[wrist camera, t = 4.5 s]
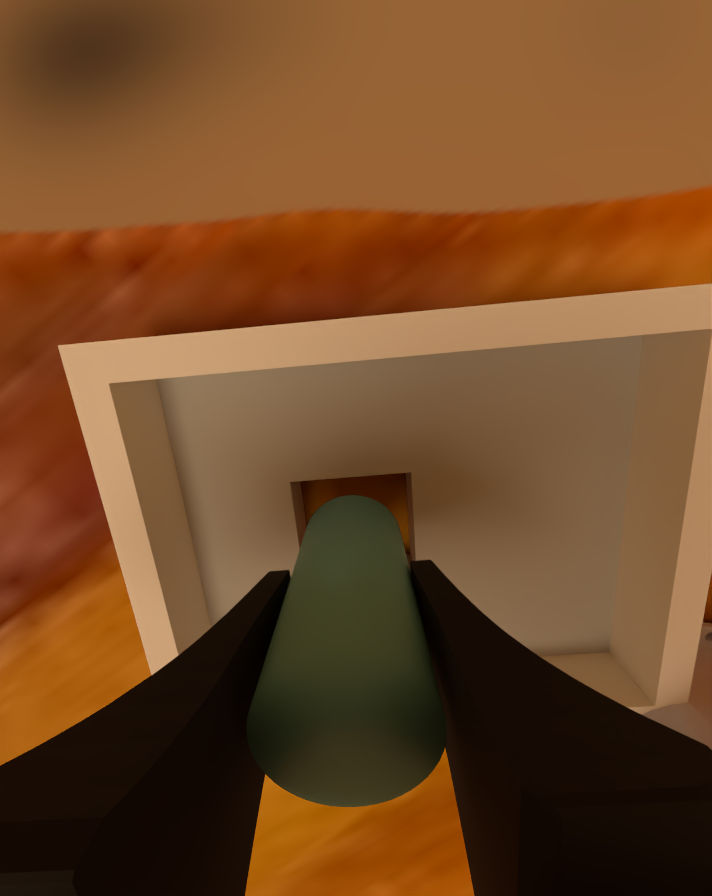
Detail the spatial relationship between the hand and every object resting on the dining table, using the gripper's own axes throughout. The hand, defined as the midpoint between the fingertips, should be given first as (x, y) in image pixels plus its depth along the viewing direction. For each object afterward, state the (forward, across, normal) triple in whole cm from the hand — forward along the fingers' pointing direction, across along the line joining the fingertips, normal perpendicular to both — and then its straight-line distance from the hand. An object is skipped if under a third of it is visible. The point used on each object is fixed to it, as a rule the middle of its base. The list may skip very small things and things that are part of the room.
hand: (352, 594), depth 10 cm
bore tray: (+6, -2, 0) cm, 6 cm away
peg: (+3, 0, 0) cm, 3 cm away
